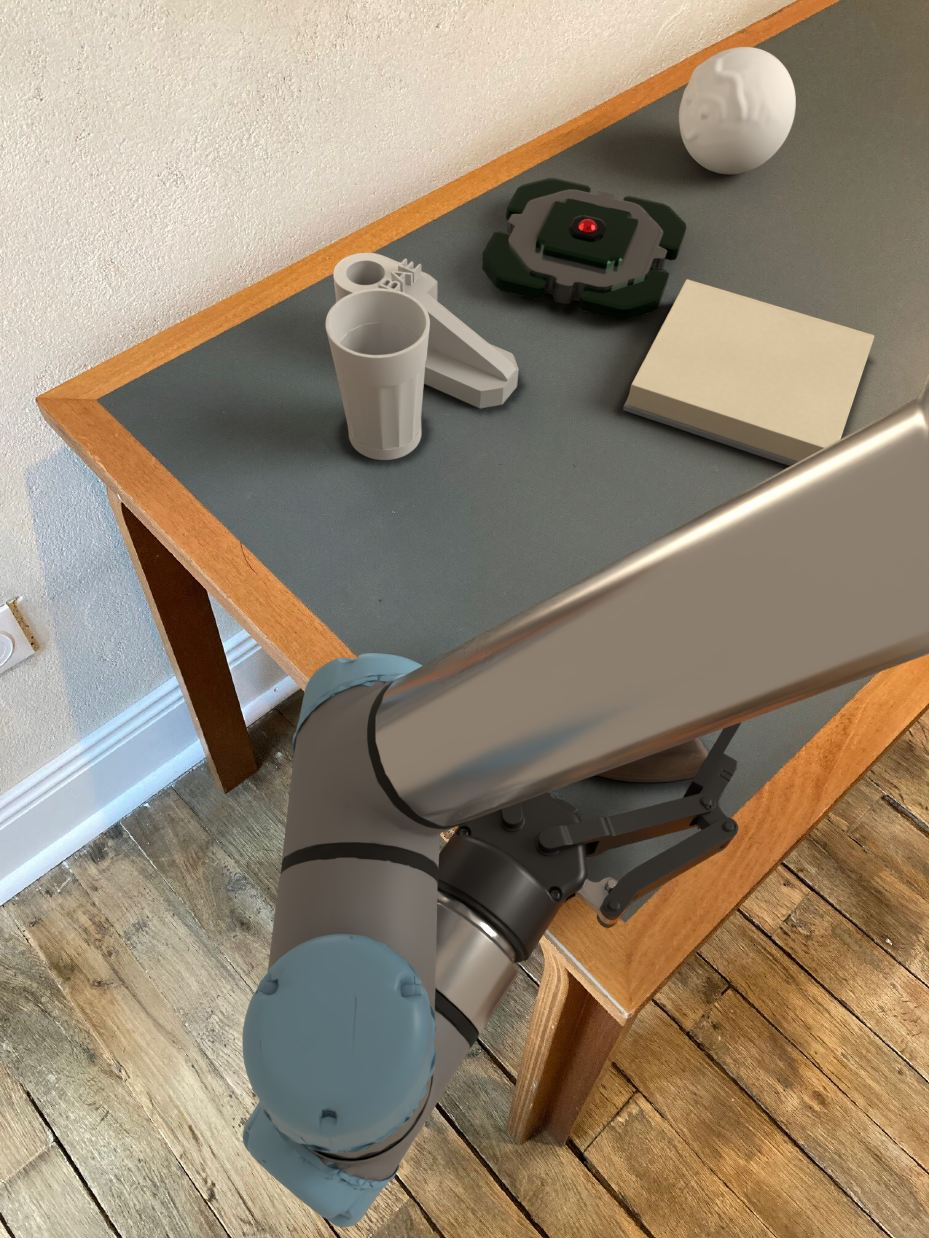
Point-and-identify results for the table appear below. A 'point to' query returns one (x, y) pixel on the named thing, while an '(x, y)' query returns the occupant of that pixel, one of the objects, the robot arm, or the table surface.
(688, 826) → the robot arm
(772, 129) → the decorative ball
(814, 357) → the cream flat slab
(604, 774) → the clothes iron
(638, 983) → the table surface
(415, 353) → the cup
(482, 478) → the table surface
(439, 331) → the grey mounting bracket
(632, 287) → the clover-shaped pad
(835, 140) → the table surface
